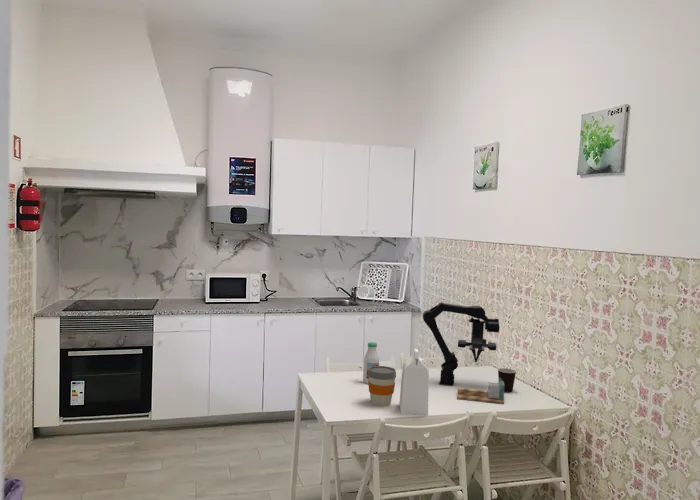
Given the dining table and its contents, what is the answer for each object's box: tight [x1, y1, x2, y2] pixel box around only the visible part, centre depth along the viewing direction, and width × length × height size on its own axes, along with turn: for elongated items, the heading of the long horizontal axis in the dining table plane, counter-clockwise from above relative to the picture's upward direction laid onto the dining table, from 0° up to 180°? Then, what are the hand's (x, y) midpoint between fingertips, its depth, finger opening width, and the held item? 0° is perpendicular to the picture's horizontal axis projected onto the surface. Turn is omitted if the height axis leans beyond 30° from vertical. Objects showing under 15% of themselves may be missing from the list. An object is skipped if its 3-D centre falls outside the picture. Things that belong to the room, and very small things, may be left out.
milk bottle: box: [362, 341, 380, 385], centre depth 282 cm, size 8×8×20 cm
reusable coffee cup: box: [367, 365, 397, 407], centre depth 252 cm, size 13×13×15 cm
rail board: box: [456, 380, 505, 405], centre depth 265 cm, size 21×12×8 cm, turn 78°
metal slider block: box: [487, 382, 500, 399], centre depth 264 cm, size 5×6×6 cm
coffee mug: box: [497, 367, 517, 393], centre depth 280 cm, size 12×9×10 cm
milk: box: [398, 348, 430, 416], centre depth 244 cm, size 12×12×26 cm
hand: (475, 361), depth 285 cm, fingers closed
